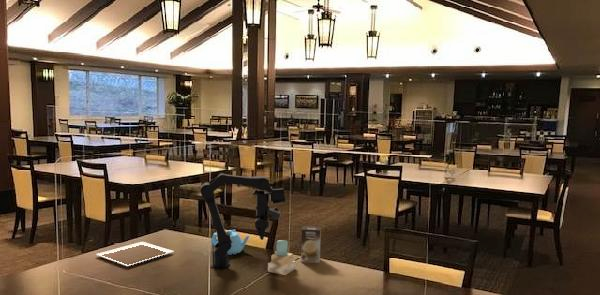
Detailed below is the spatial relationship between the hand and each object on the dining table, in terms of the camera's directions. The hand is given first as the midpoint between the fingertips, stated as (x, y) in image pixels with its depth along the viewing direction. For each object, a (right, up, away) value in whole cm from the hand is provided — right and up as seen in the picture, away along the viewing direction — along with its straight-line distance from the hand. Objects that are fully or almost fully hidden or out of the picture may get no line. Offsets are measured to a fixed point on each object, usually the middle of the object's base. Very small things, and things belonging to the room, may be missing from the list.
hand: (262, 236), depth 209 cm
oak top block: (+9, -10, -6) cm, 15 cm away
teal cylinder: (+9, -7, -7) cm, 14 cm away
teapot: (-18, -11, +19) cm, 29 cm away
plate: (-63, -12, +10) cm, 65 cm away
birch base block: (+9, -14, -6) cm, 18 cm away
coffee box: (+23, -13, +6) cm, 27 cm away
